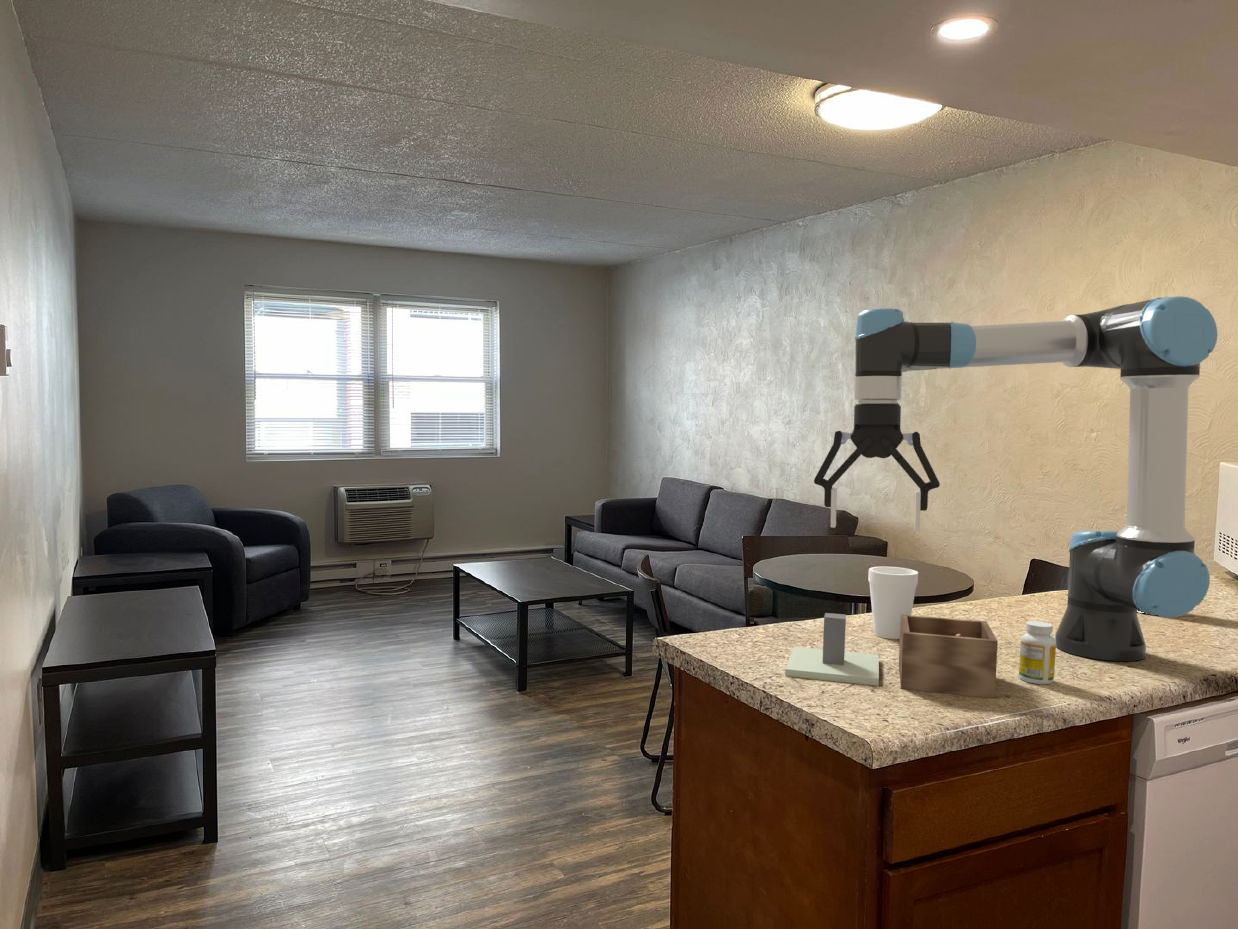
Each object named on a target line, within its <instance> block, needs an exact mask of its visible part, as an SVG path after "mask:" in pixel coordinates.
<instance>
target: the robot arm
mask: <svg viewBox="0 0 1238 929" xmlns="http://www.w3.org/2000/svg"><path fill="white" fill-rule="evenodd" d="M854 340H855V373H854V374H855V376H854V400H855V401H857V403H856V404H855V405H854V407H853V408H854V409H853V416H854V417H853V430H852V432H845V431H841V430H837V431H835V432H834V437H833V444H832V446H831V447H830V448H829V449H830V450H829V451H828V453H827V455H826V457H825V459H824V461H823V462H822V463H821V464H822V465H820V467H819V470H818V472H817V473H816V475H815V477H814V479H813V484H815V485H817V486H820V487H822V488H823V490H824V496H823V497H824V502H823V504H824V507H825V508H830V528H836V526H837V493H838V491H837V490H838V489H837V487H833V486H834V485H835V484H836V483H837V482H838V481H839V479H840V478H841V477H842V476H843V475H844V474H845V473H846V472H847V470H849V468H850V467H851V466H853V464H854V463H855V462H856V461H857V460H858V459H859V457H861V455H862V457H864V458H866V459H873V458H878V459H879V458H880V459H887V458H890V457H891V456H892V458H893V459H894V460H895V461H896V462H897V463H898V465H899V466H900V467H901V468H902V469H903V470H904V472H905V473H906V474H907V475H908V476H909V478H910V479H911V480H912V481H913V483H915V485H916V486H917V487H918V488H919V490H915V491H914V492H915V494H914V528H913V529H914V532H920V530H921V529H920V528H921V511H923V512H924V511H927V510H928V506H929V504H928V503H929V492H930V491H931V490H934V489H938V488H939V487H940V484H941V483H940V481H939V479H938V477H937V475H936V473H935V471H934V469H933V467H932V464H931V463H930V461H929V459H928V457H927V455H926V453H925V451H924V448H923V446H922V445H921V444H922V443H921V435H920V433H919V432H918V431H913V432H909V433H908V432H907V433H906V432H905V433H903V432H902V429H901V424H902V422H901V419H902V418H901V416H902V414H901V413H902V411H901V410H902V406H901V405H900V403H899V402H898V401H901V399H902V382H903V381H902V380H903V379H902V378H903V377H902V376H903V373H906V372H910V371H911V372H912V371H913V372H914V371H927V370H928V371H929V370H943V369H950V370H951V369H960V368H961V369H962V368H963V369H964V368H979V367H980V368H981V367H995V366H996V367H999V366H1011V365H1012V366H1014V365H1030V364H1031V365H1032V364H1033V365H1034V364H1035V365H1036V364H1049V363H1050V364H1052V363H1053V364H1054V363H1062V364H1063V365H1064V366H1065V367H1067V368H1077V367H1078V368H1080V367H1083V368H1086V367H1088V368H1101V369H1116V370H1117V369H1118V370H1120V377H1119V378H1120V380H1121V381H1122V382H1123V383H1124V384H1125V385H1126V386H1127V387H1128V389H1129V416H1128V417H1129V418H1128V419H1129V422H1128V423H1129V424H1128V452H1127V453H1128V455H1127V456H1128V458H1127V460H1128V461H1127V496H1126V498H1127V499H1126V502H1127V503H1126V525H1125V526H1124V527H1122V529H1120V530H1119V531H1118V530H1117V531H1114V530H1113V531H1111V530H1110V531H1107V530H1106V531H1105V530H1104V531H1103V530H1100V531H1099V530H1093V531H1092V530H1079V531H1075V532H1074V533H1073V534H1072V535H1071V538H1070V539H1071V540H1070V544H1069V545H1070V546H1069V549H1068V552H1069V565H1068V566H1069V568H1068V584H1067V604H1066V605H1067V606H1066V608H1065V612H1064V614H1063V616H1062V618H1061V620H1060V623H1059V624H1058V628H1057V630H1056V632H1055V638H1054V639H1055V641H1056V649H1059V650H1061V651H1063V652H1064V653H1065V652H1066V653H1068V654H1072V655H1075V656H1079V657H1083V658H1089V659H1095V660H1102V661H1103V660H1104V661H1113V662H1135V661H1136V660H1137V661H1140V660H1143V658H1144V659H1145V658H1146V652H1147V651H1146V650H1147V646H1146V641H1145V638H1144V634H1143V631H1142V627H1141V624H1140V621H1139V617H1138V612H1137V609H1138V610H1141V611H1142V612H1144V613H1147V614H1146V615H1148V614H1150V615H1149V616H1155V615H1158V616H1157V617H1162V618H1178V617H1181V616H1184V615H1186V614H1188V613H1191V612H1192V611H1193V610H1194V609H1195V607H1196V606H1198V605H1200V604H1202V602H1203V600H1204V599H1205V598H1206V596H1207V593H1208V591H1209V588H1210V583H1211V582H1210V581H1211V578H1210V576H1211V575H1210V570H1209V569H1208V566H1207V565H1206V564H1205V563H1204V562H1203V559H1201V558H1200V557H1199V556H1198V555H1196V553H1195V536H1193V534H1191V533H1190V532H1189V531H1188V529H1186V527H1185V526H1186V525H1185V520H1186V519H1185V518H1186V517H1185V516H1186V512H1185V511H1186V490H1187V488H1186V486H1187V485H1186V483H1187V481H1186V480H1187V455H1188V453H1187V451H1188V448H1187V447H1188V418H1189V417H1188V416H1189V414H1188V413H1189V388H1190V387H1191V385H1192V384H1193V383H1194V382H1195V381H1197V380H1198V379H1199V378H1200V374H1201V373H1200V369H1201V363H1202V362H1203V361H1204V360H1206V359H1207V358H1209V357H1210V355H1209V354H1210V353H1212V352H1213V351H1214V349H1215V347H1216V344H1217V340H1218V326H1217V323H1216V321H1215V318H1214V316H1213V314H1212V313H1211V311H1210V310H1209V309H1208V308H1206V307H1205V306H1204V305H1203V303H1201V302H1200V301H1198V300H1196V299H1194V298H1191V297H1188V296H1180V295H1177V296H1163V297H1156V298H1153V299H1148V300H1143V301H1137V302H1134V303H1127V304H1122V305H1117V306H1114V307H1111V308H1106V309H1103V310H1099V311H1094V312H1093V311H1092V312H1088V313H1084V314H1083V313H1082V314H1070V315H1067V316H1065V317H1064V318H1063V319H1062V320H1058V321H1057V320H1056V321H1039V322H1020V323H1009V324H1008V323H1004V324H985V325H984V324H983V325H982V324H981V325H969V324H968V323H960V322H954V321H950V322H912V321H911V322H910V321H905V318H904V312H903V311H902V310H901V309H899V308H889V307H887V308H886V307H885V308H884V307H883V308H880V307H879V308H869V309H864V310H862V311H860V312H859V314H858V315H857V318H856V324H855V337H854ZM848 440H851V442H852V443H853V444H854V446H855V447H856V449H855V450H854V451H853V452H852V453H851V454H850V455H849V456H848V457H847V459H846V460H845V461H844V462H843V463H842V464H841V465H840V466H839V467H838V468H837V470H836V471H834V473H833V474H832V475H831V476H830V477H829V478H828V479H826V478H825V476H826V474H828V470H829V469H830V467H831V465H832V463H833V461H834V460H835V458H836V456H837V454H838V452H839V450H840V448H841V445H844V444H846V443H847V441H848ZM903 440H904V441H906V442H907V445H909V446H912V447H913V450H914V452H915V454H916V456H917V457H918V460H919V462H920V464H921V466H922V468H923V470H924V471H925V474H926V476H927V477H928V481H927V482H925V480H923V478H922V477H921V476H920V475H919V474H918V473H917V471H916V470H915V469H914V468H913V467H912V465H911V464H910V463H909V462H908V461H907V460H906V458H905V456H903V455H902V453H901V452H900V451H899V450H898V449H897V448H898V447H899V446H900V445H901V444H902V442H903Z"/></svg>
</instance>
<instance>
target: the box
mask: <svg viewBox="0 0 1238 929" xmlns="http://www.w3.org/2000/svg"><path fill="white" fill-rule="evenodd" d="M956 634H961V635H962V636H963V637H958V636H956ZM997 662H998V640H997V638H996V635H995V634H994V632H993V631H992V629H991V627H990V625H989V622H988V621H986V620H985V621H984V620H975V619H960V618H949V617H948V618H947V617H936V616H923V615H912V614H911V615H901V623H900V639H899V651H898V671H899V672H898V673H899V682H900V688H901V689H903V690H913V691H921V692H922V691H924V692H932V693H941V694H942V693H943V694H951V695H960V696H970V697H980V698H988V699H989V698H990V699H995V698H996V682H997V666H998V665H997Z"/></svg>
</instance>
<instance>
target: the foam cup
mask: <svg viewBox="0 0 1238 929" xmlns="http://www.w3.org/2000/svg"><path fill="white" fill-rule="evenodd" d="M867 578H868V579H867V580H868V582H869V584H868V585H869V592H870V602H871V603H870V604H871V614H872V616H871V617H872V623H873V624H872V625H873V626H872V627H873V631H874V632H873V634H874V635H875V636H877V637H879V638H882V639H889V640H900V623H901V615H912V612H913V607H914V606H913V605H914V601H915V595H916V590H917V586H918V585H919V572H918V571H917V570H914V569H911V568H907V567H898V566H872V567H870V568H869V569H868V577H867Z"/></svg>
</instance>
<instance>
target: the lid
mask: <svg viewBox="0 0 1238 929" xmlns="http://www.w3.org/2000/svg"><path fill="white" fill-rule="evenodd" d="M823 617H824V618H823V641H822V644H823V645H822V649H820V648H810V647H799V646H792V650H791V651H790V655H789V657H788V660H787V663H786V666H785V670H784V677H785V676H786V677H792V676H794V677H793V678H802V679H811V680H814V679H815V680H822V681H831V682H832V681H833V682H842V683H848V684H849V683H850V684H859V685H869V686H880V685H879V683H880V682H879V681H880V676H879V674H880V670H879V669H880V667H879V666H880V665H879V661H880V660H879V659H880V658H879V657H880V656H879V655H880V654H876V653H875V654H874V653H864V652H854V651H845V650H846V649H845V648H846V647H845V646H846V628H847V627H846V625H847V624H846V622H847V621H846V620H847V614H842V613H832V612H831V613H830V612H825V613H824V615H823Z"/></svg>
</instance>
